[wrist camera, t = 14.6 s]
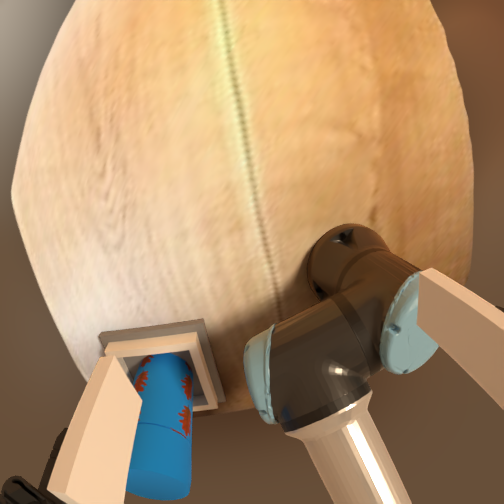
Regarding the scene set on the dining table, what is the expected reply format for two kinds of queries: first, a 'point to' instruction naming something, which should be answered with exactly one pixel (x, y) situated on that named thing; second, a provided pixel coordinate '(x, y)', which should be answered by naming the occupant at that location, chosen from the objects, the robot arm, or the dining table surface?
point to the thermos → (162, 429)
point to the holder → (175, 342)
